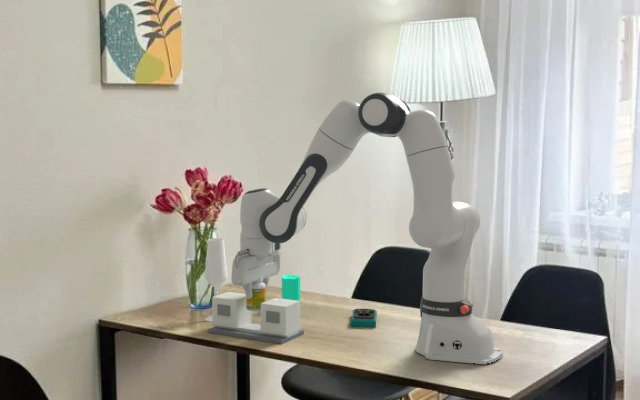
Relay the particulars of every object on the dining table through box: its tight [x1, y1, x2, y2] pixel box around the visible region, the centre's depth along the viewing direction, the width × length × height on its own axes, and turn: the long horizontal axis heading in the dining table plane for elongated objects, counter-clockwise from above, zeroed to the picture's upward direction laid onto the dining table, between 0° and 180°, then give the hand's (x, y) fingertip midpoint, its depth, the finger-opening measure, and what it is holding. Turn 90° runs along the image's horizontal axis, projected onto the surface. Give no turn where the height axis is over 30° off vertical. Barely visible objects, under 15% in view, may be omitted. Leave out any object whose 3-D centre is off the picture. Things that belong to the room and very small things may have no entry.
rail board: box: [207, 291, 305, 345], centre depth 252 cm, size 24×12×10 cm, turn 62°
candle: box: [281, 273, 301, 302], centre depth 281 cm, size 6×6×12 cm
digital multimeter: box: [350, 308, 378, 329], centre depth 267 cm, size 7×15×3 cm, turn 176°
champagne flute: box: [204, 237, 228, 323], centre depth 267 cm, size 7×7×24 cm
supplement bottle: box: [246, 276, 267, 312], centre depth 251 cm, size 5×5×10 cm
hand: (256, 295), depth 251 cm, fingers closed on supplement bottle, 5 cm apart
